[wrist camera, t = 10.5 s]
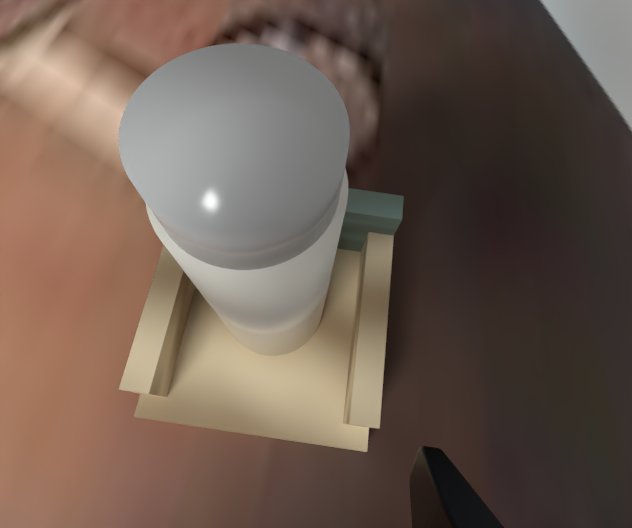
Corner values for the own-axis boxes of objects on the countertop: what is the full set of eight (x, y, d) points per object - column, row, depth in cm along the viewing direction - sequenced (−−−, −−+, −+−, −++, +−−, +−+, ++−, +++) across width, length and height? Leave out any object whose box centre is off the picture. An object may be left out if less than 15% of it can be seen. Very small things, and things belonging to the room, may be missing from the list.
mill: (342, 312, 20) (411, 141, 8) (266, 377, 19) (206, 294, 6) (280, 244, 21) (257, 5, 9) (205, 301, 20) (59, 111, 8)
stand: (362, 450, 19) (386, 460, 14) (143, 417, 19) (90, 415, 14) (380, 244, 23) (403, 196, 18) (199, 217, 23) (173, 162, 18)
